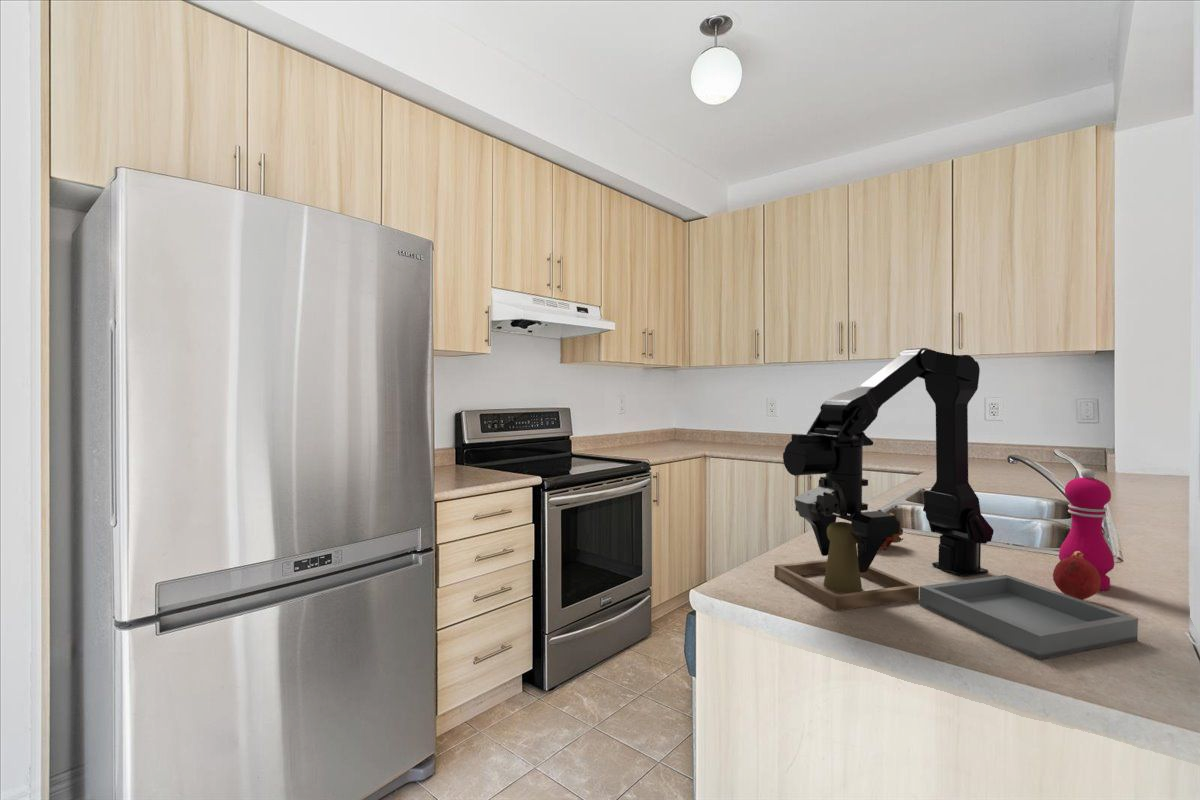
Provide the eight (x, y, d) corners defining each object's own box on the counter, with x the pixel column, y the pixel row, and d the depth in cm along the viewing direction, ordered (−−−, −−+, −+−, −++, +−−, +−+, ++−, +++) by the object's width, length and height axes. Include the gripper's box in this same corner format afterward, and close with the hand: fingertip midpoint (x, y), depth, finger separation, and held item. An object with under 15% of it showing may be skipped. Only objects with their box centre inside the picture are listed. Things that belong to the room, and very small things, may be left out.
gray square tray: (1005, 592, 92) (1006, 574, 92) (1137, 640, 75) (1137, 618, 75) (919, 605, 87) (919, 586, 87) (1039, 659, 70) (1040, 636, 70)
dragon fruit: (906, 553, 119) (858, 566, 116) (880, 522, 125) (834, 534, 122) (921, 528, 113) (871, 540, 111) (893, 497, 120) (845, 508, 117)
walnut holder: (848, 567, 105) (848, 557, 105) (919, 599, 89) (919, 586, 89) (774, 576, 100) (774, 565, 100) (835, 610, 85) (835, 597, 85)
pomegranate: (1089, 611, 84) (1090, 559, 84) (1045, 598, 90) (1046, 549, 89) (1107, 604, 87) (1108, 553, 87) (1063, 592, 92) (1064, 544, 92)
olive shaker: (866, 595, 91) (867, 528, 91) (827, 592, 92) (828, 526, 92) (857, 582, 97) (857, 519, 97) (820, 579, 98) (821, 518, 98)
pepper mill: (1118, 594, 91) (1121, 473, 90) (1062, 586, 95) (1064, 469, 94) (1108, 581, 97) (1110, 467, 97) (1055, 574, 101) (1057, 464, 100)
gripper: (770, 466, 101) (770, 552, 101) (843, 484, 83) (842, 587, 83) (822, 464, 104) (821, 546, 105) (902, 480, 86) (901, 580, 87)
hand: (842, 563), depth 95 cm, fingers open, 9 cm apart
